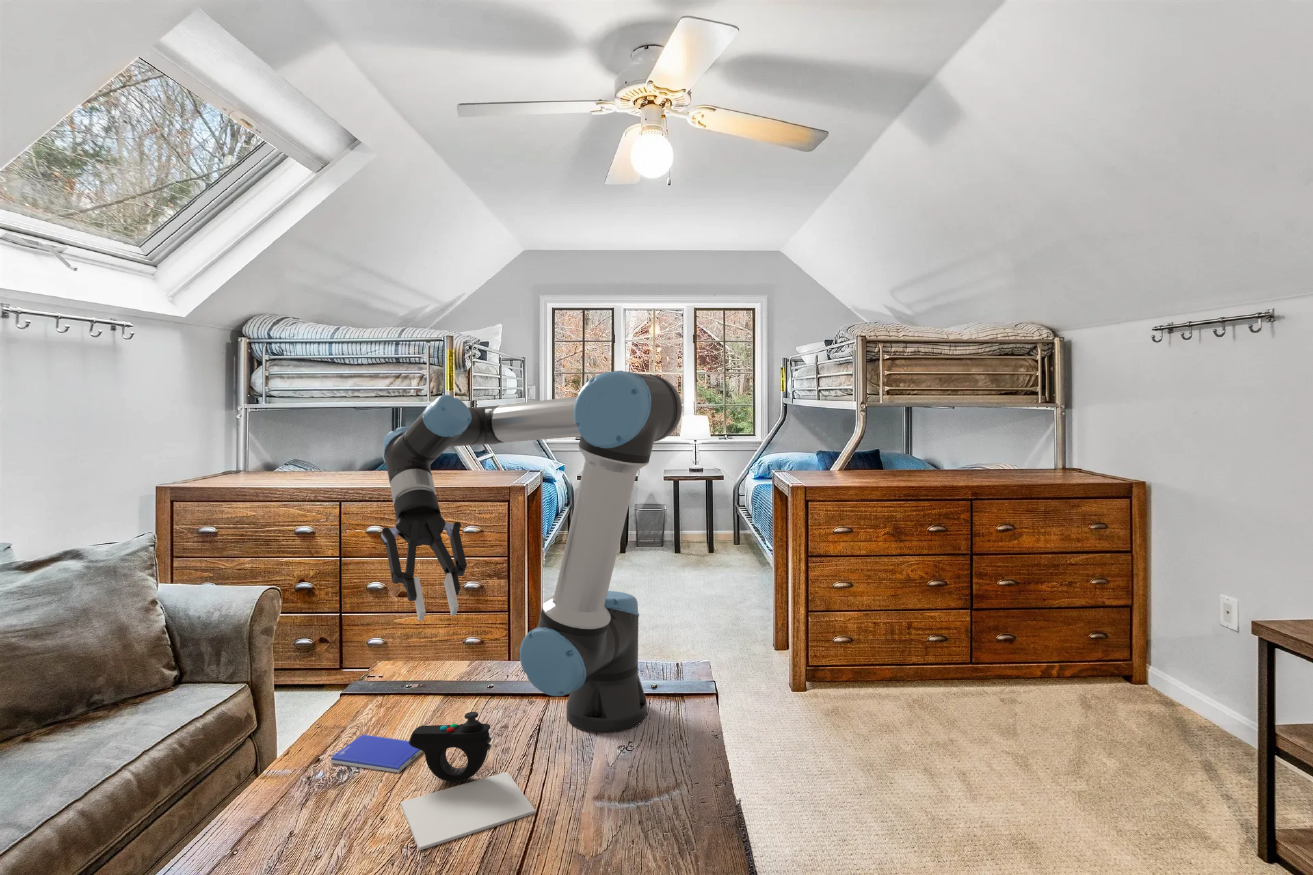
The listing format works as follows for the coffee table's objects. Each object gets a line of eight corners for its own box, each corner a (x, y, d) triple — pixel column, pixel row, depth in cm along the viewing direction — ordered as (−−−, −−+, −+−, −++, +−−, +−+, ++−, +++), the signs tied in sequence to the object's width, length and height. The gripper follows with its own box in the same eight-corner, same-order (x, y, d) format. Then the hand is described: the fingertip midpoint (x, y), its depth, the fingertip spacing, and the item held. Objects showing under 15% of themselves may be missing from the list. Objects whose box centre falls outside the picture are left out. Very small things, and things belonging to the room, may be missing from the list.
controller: (486, 786, 102) (484, 718, 103) (406, 786, 103) (404, 720, 103) (495, 772, 107) (493, 708, 107) (418, 773, 107) (416, 709, 108)
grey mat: (507, 774, 107) (507, 771, 107) (535, 812, 97) (535, 810, 97) (400, 804, 99) (400, 801, 99) (418, 850, 88) (418, 847, 88)
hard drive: (330, 756, 110) (398, 766, 107) (363, 733, 118) (427, 741, 115) (330, 766, 110) (398, 776, 107) (363, 742, 118) (427, 750, 115)
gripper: (460, 509, 130) (487, 617, 117) (361, 516, 121) (378, 634, 108) (467, 484, 126) (496, 593, 112) (365, 490, 116) (383, 609, 103)
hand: (438, 613), depth 110 cm, fingers open, 4 cm apart
